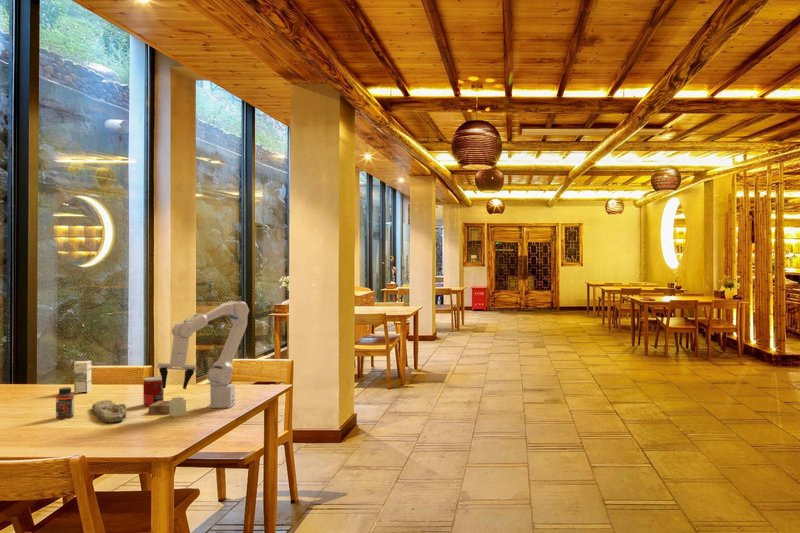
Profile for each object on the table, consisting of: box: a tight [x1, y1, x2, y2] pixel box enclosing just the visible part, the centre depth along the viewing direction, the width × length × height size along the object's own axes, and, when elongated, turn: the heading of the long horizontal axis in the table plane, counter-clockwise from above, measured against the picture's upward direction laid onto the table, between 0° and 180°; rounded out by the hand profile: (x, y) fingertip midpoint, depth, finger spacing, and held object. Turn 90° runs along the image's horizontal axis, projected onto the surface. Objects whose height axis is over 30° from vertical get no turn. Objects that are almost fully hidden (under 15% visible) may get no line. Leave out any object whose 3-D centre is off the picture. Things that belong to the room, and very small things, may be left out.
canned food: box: [142, 376, 165, 407], centre depth 248 cm, size 8×8×11 cm
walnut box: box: [148, 400, 169, 415], centre depth 236 cm, size 9×9×4 cm
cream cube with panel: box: [168, 396, 187, 418], centre depth 228 cm, size 5×5×7 cm
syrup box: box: [73, 360, 92, 393], centre depth 275 cm, size 6×6×14 cm
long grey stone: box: [91, 399, 127, 423], centre depth 230 cm, size 35×5×10 cm
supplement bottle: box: [55, 386, 75, 420], centre depth 225 cm, size 6×6×11 cm
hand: (174, 388), depth 229 cm, fingers open, 7 cm apart
